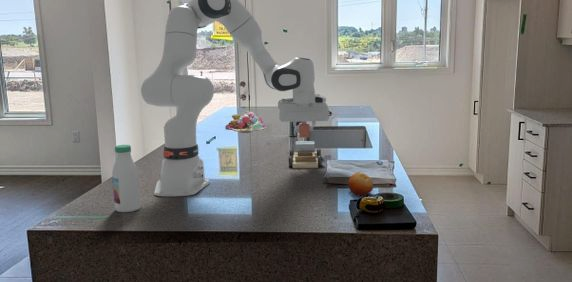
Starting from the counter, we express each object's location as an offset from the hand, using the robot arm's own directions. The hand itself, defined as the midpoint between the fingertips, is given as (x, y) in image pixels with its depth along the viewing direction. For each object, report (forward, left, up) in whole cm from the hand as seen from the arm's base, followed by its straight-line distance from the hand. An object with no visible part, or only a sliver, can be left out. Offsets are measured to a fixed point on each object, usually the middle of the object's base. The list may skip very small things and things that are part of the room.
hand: (304, 132), depth 208 cm
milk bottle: (-54, +55, -13) cm, 78 cm away
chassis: (+3, 0, -13) cm, 13 cm away
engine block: (0, 0, -2) cm, 2 cm away
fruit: (-42, -18, -13) cm, 48 cm away
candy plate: (+89, +33, -14) cm, 96 cm away
